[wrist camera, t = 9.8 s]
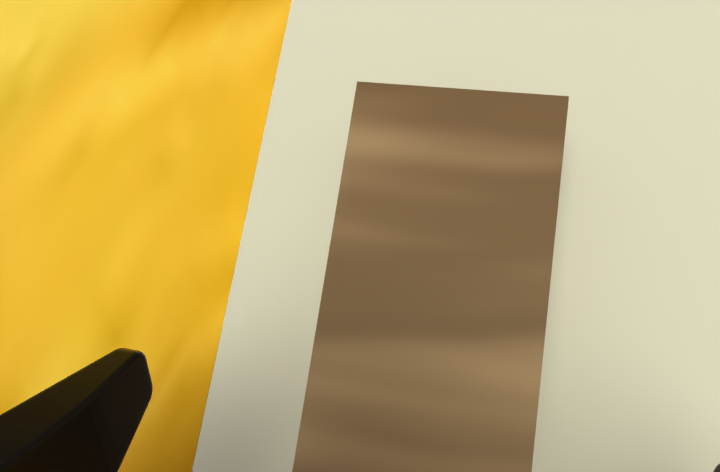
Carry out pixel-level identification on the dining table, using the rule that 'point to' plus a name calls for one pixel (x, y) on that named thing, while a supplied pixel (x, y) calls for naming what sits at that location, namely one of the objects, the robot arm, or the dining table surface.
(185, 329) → the dining table surface
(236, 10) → the dining table surface
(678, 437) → the mat
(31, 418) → the robot arm
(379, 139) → the block
